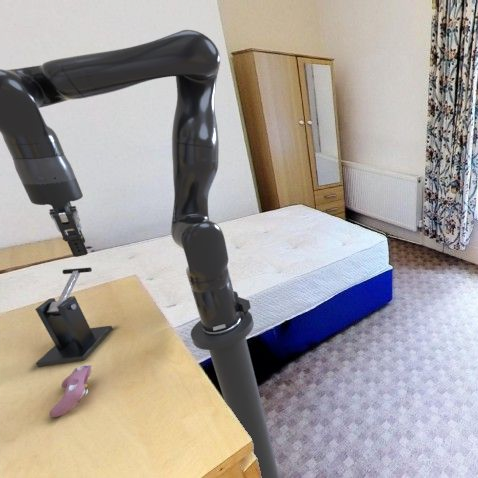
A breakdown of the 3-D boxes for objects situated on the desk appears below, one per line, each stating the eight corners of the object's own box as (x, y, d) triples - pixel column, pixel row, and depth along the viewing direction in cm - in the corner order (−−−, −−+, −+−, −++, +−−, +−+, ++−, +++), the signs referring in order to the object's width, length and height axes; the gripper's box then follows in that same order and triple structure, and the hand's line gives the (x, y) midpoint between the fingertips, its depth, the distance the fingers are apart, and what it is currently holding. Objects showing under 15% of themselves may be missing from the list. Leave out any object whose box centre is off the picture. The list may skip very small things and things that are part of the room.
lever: (68, 272, 85) (61, 267, 83) (93, 270, 86) (88, 265, 84) (45, 317, 77) (37, 313, 75) (73, 314, 78) (67, 309, 77)
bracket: (72, 334, 87) (50, 291, 81) (113, 329, 89) (94, 286, 83) (37, 367, 76) (9, 320, 70) (84, 360, 78) (60, 314, 73)
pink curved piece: (79, 417, 66) (88, 388, 66) (46, 420, 63) (56, 390, 63) (90, 384, 74) (98, 358, 73) (61, 386, 71) (69, 359, 70)
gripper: (76, 182, 64) (106, 254, 70) (73, 170, 73) (100, 235, 79) (18, 188, 59) (56, 265, 65) (23, 174, 68) (55, 244, 74)
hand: (80, 249), depth 72 cm, fingers open, 8 cm apart
